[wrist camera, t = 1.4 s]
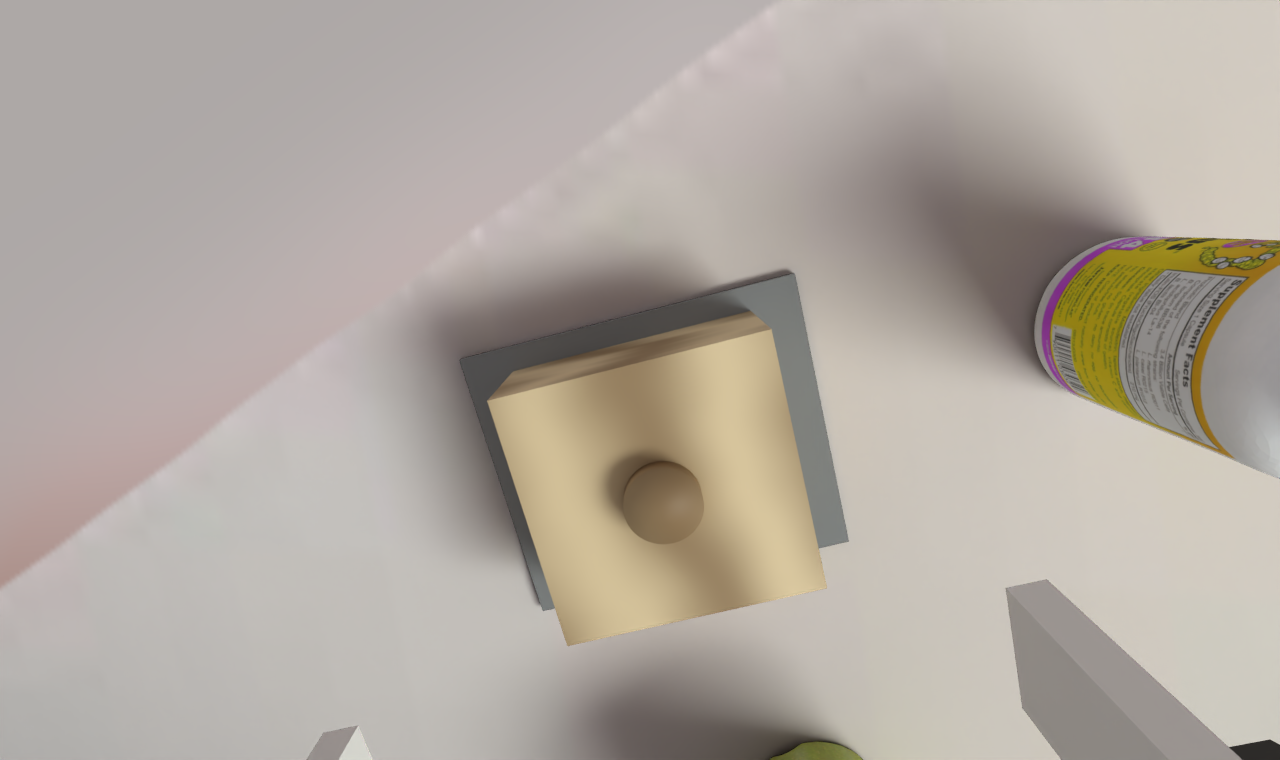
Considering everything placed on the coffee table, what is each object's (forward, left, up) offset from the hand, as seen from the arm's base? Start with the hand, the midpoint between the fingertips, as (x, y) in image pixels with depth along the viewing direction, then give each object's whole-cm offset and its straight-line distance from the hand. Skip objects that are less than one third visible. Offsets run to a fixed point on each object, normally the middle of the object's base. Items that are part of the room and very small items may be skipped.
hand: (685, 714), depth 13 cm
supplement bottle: (+19, +1, -16) cm, 24 cm away
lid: (0, 0, -15) cm, 15 cm away
